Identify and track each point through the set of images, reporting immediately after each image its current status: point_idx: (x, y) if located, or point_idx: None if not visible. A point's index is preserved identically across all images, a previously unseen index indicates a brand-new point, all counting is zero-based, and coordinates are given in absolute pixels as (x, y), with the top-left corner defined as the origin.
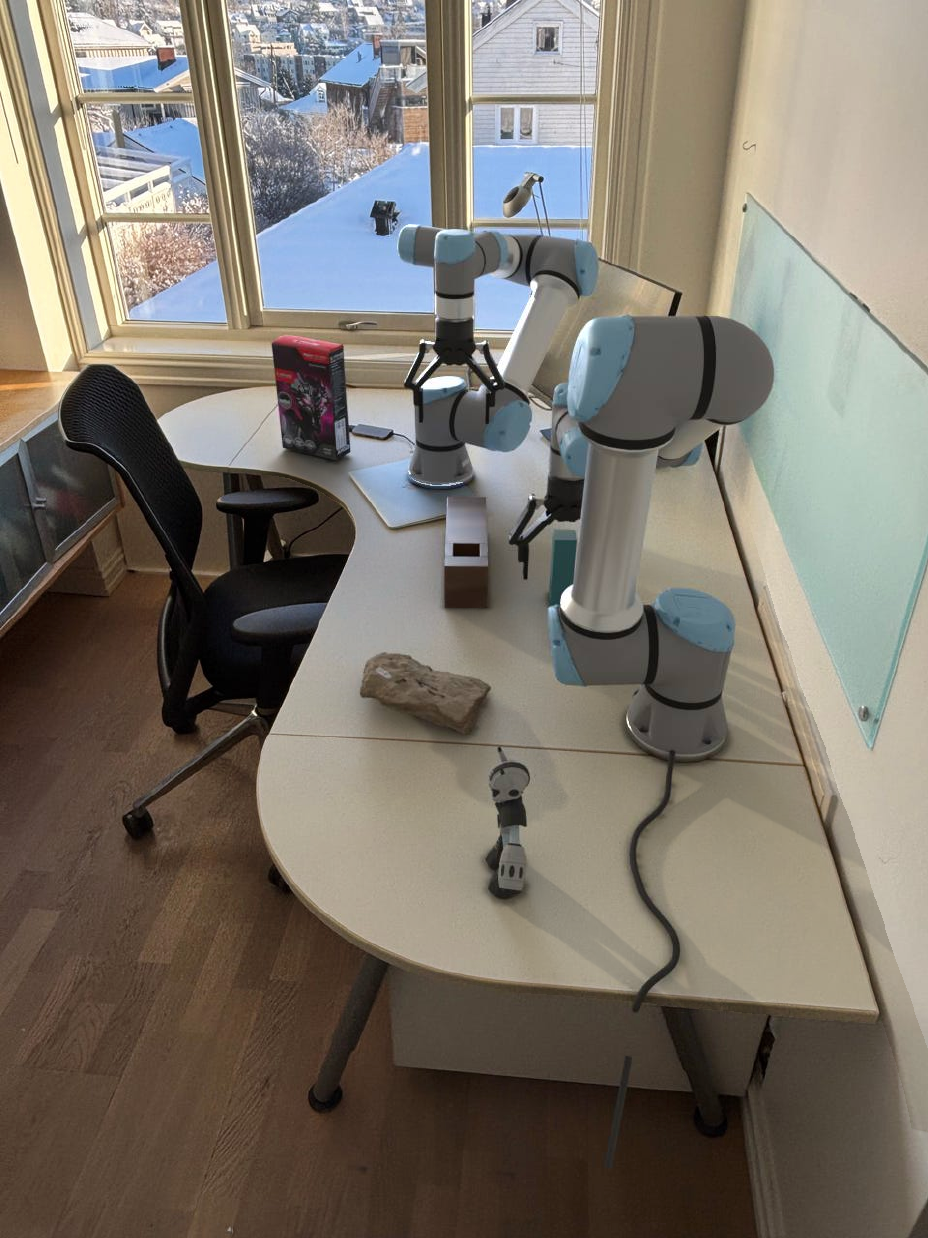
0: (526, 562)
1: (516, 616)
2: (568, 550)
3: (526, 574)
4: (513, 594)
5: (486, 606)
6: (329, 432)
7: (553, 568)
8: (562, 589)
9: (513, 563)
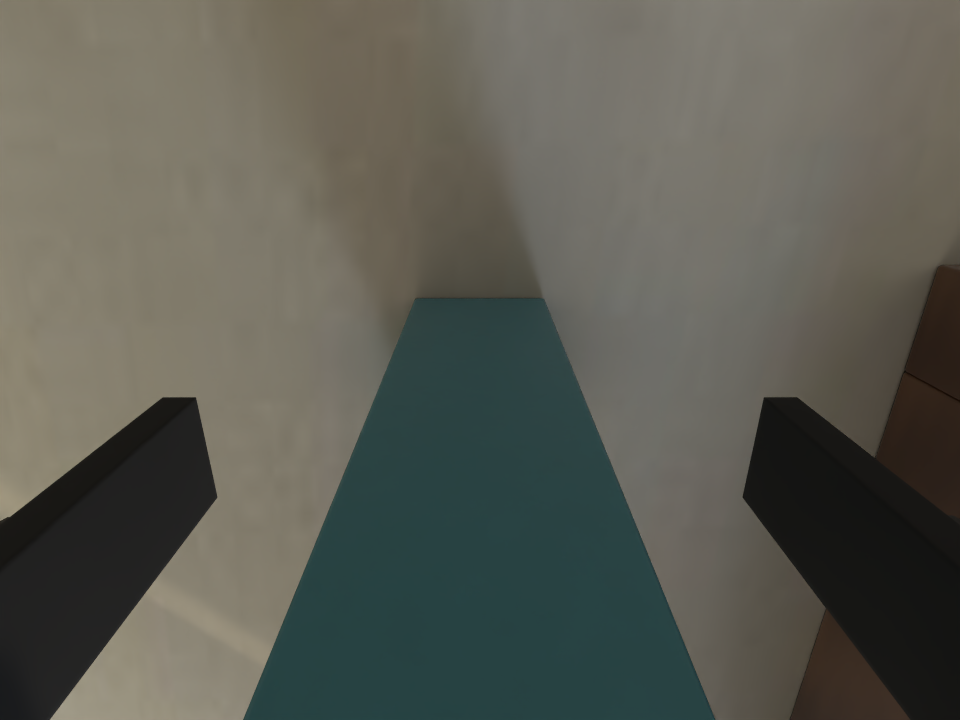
0: (897, 495)
1: (778, 170)
2: (421, 608)
3: (800, 421)
4: (738, 408)
5: (953, 266)
6: None
7: (590, 428)
8: (476, 337)
9: None
